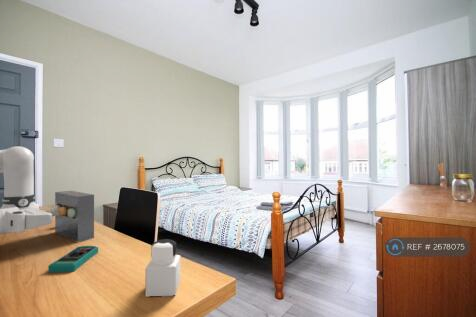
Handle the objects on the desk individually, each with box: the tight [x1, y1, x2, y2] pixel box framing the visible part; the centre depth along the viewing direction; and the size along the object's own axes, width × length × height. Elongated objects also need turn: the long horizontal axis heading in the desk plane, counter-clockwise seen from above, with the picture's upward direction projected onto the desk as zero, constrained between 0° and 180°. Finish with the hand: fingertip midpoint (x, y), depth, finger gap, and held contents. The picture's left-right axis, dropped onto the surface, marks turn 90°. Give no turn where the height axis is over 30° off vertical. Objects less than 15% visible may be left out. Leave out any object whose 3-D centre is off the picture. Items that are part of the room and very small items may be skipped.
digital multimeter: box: [47, 245, 99, 273], centre depth 75 cm, size 7×15×3 cm, turn 5°
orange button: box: [57, 207, 68, 216], centre depth 97 cm, size 4×2×4 cm, turn 57°
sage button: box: [67, 208, 75, 218], centre depth 94 cm, size 4×2×4 cm, turn 57°
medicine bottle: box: [144, 238, 181, 297], centre depth 59 cm, size 7×7×12 cm
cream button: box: [50, 204, 61, 211], centre depth 100 cm, size 4×2×4 cm, turn 57°
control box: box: [54, 190, 95, 243], centre depth 100 cm, size 22×6×18 cm, turn 57°
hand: (57, 212), depth 95 cm, fingers closed
